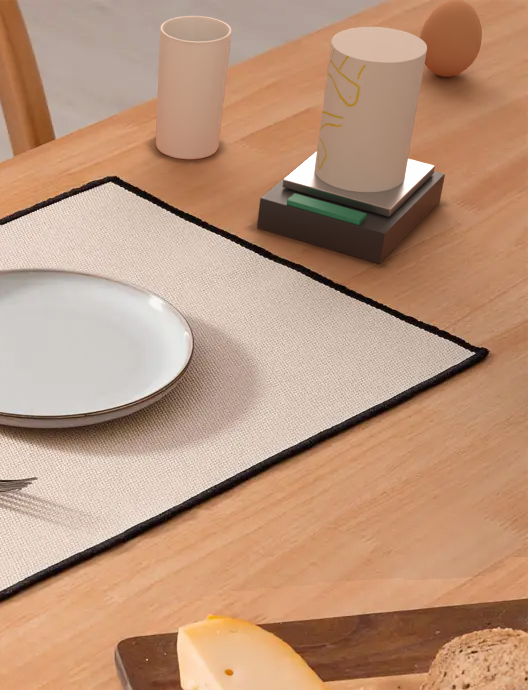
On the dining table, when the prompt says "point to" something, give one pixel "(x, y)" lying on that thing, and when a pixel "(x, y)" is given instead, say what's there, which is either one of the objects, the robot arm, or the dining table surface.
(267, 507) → the dining table surface
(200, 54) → the mug
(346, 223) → the scale
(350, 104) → the white cylinder
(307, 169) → the scale pan
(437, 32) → the egg
